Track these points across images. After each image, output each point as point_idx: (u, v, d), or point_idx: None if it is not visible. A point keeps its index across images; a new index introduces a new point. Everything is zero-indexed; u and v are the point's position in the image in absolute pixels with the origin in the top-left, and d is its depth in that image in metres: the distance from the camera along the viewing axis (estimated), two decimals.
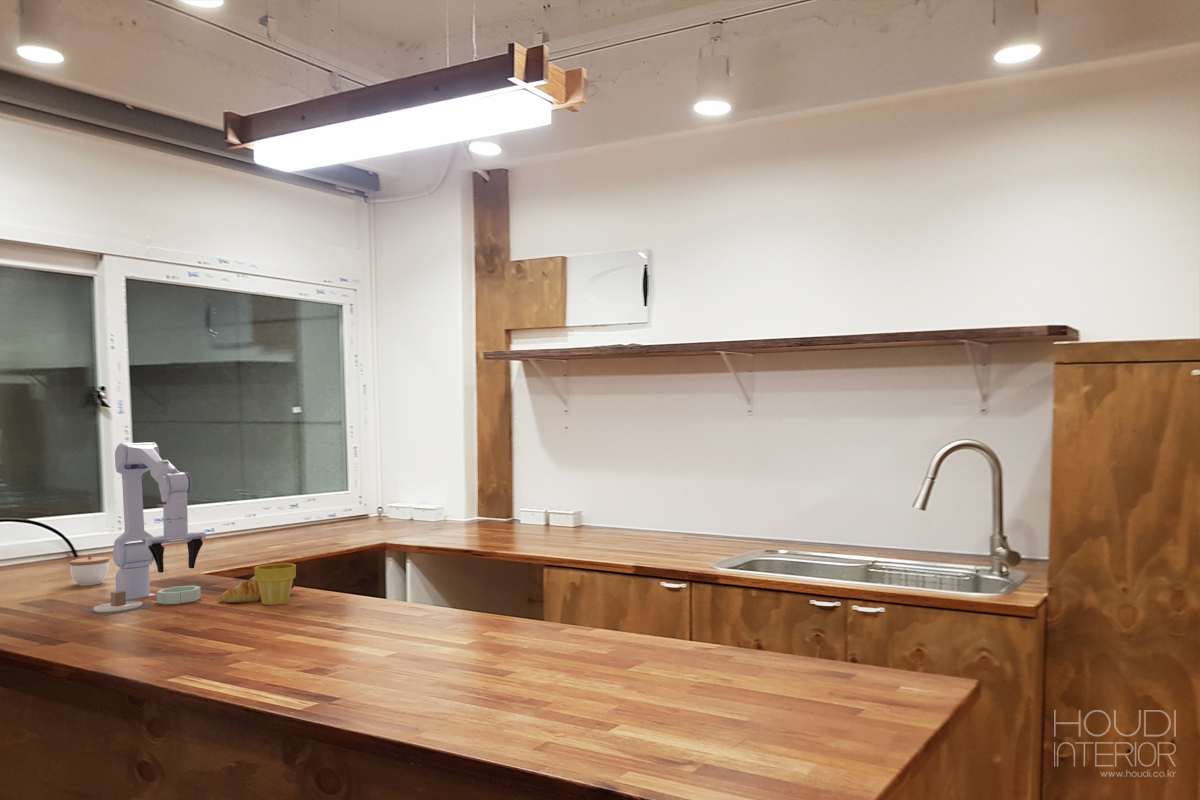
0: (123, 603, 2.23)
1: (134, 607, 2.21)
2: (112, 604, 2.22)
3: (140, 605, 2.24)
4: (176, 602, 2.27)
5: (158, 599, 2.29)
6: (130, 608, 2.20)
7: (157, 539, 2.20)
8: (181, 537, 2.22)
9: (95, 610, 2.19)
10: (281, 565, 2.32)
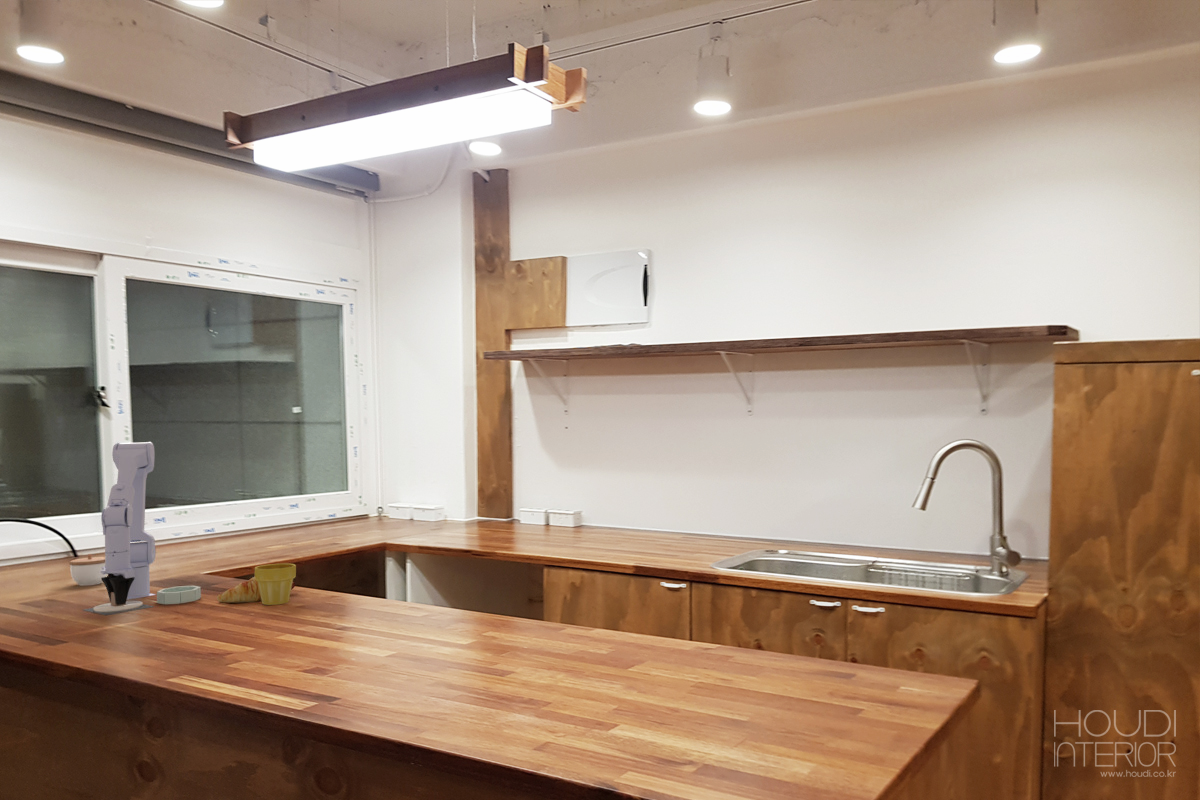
0: None
1: (134, 607, 2.21)
2: (112, 604, 2.22)
3: (140, 605, 2.24)
4: (176, 602, 2.27)
5: (158, 599, 2.29)
6: (130, 608, 2.20)
7: (103, 569, 2.26)
8: (101, 572, 2.20)
9: (95, 610, 2.19)
10: (281, 565, 2.32)
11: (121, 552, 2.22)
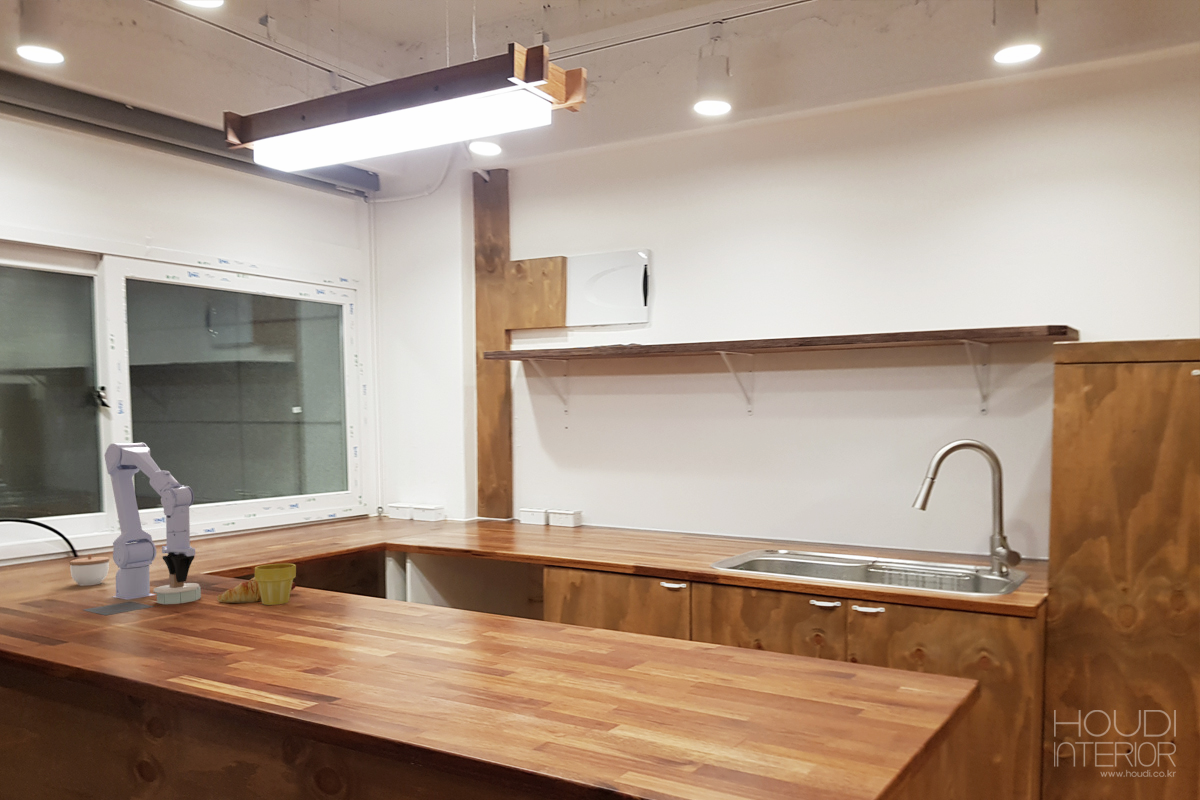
0: (181, 585, 2.31)
1: (192, 588, 2.30)
2: (171, 586, 2.31)
3: (197, 587, 2.32)
4: (176, 602, 2.27)
5: (158, 599, 2.29)
6: (189, 589, 2.29)
7: (164, 548, 2.34)
8: (163, 550, 2.29)
9: (155, 591, 2.27)
10: (281, 565, 2.32)
11: (182, 531, 2.31)
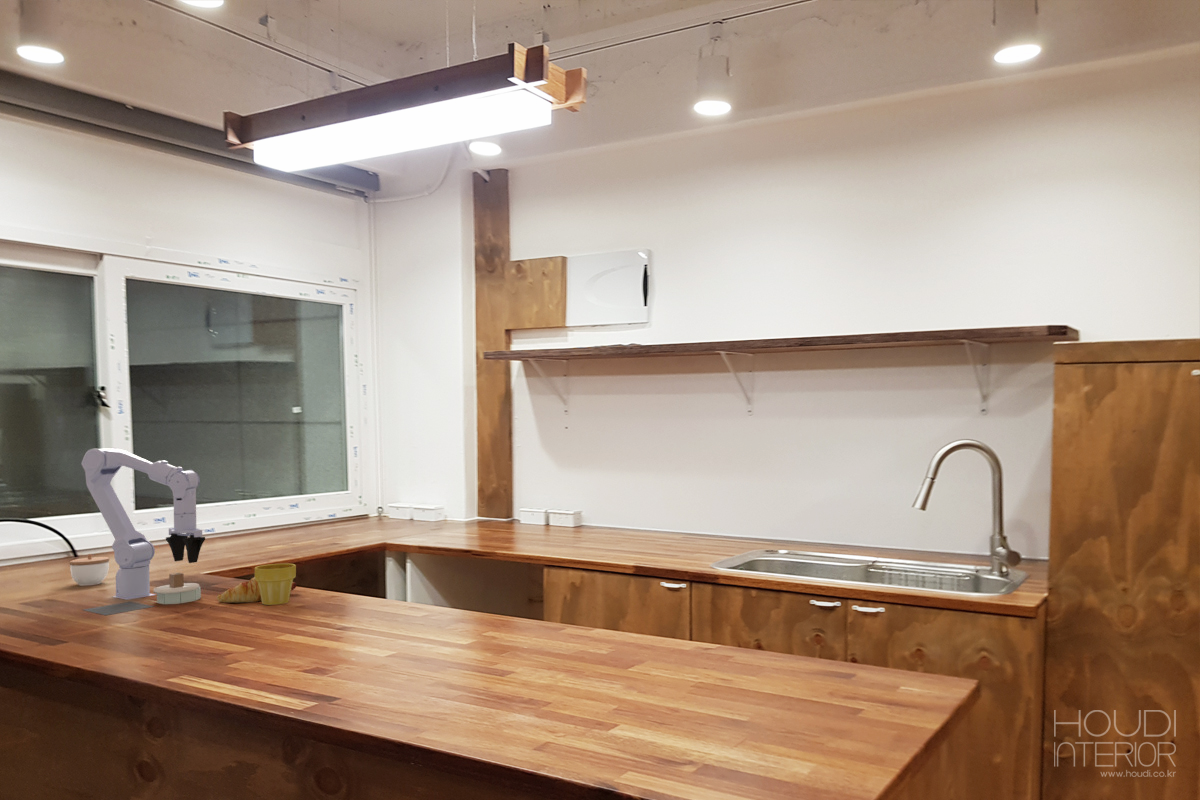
0: (181, 585, 2.31)
1: (192, 588, 2.30)
2: (171, 586, 2.31)
3: (197, 587, 2.32)
4: (176, 602, 2.27)
5: (158, 599, 2.29)
6: (189, 589, 2.29)
7: None
8: (171, 531, 2.37)
9: (155, 591, 2.27)
10: (281, 565, 2.32)
11: (189, 513, 2.39)
